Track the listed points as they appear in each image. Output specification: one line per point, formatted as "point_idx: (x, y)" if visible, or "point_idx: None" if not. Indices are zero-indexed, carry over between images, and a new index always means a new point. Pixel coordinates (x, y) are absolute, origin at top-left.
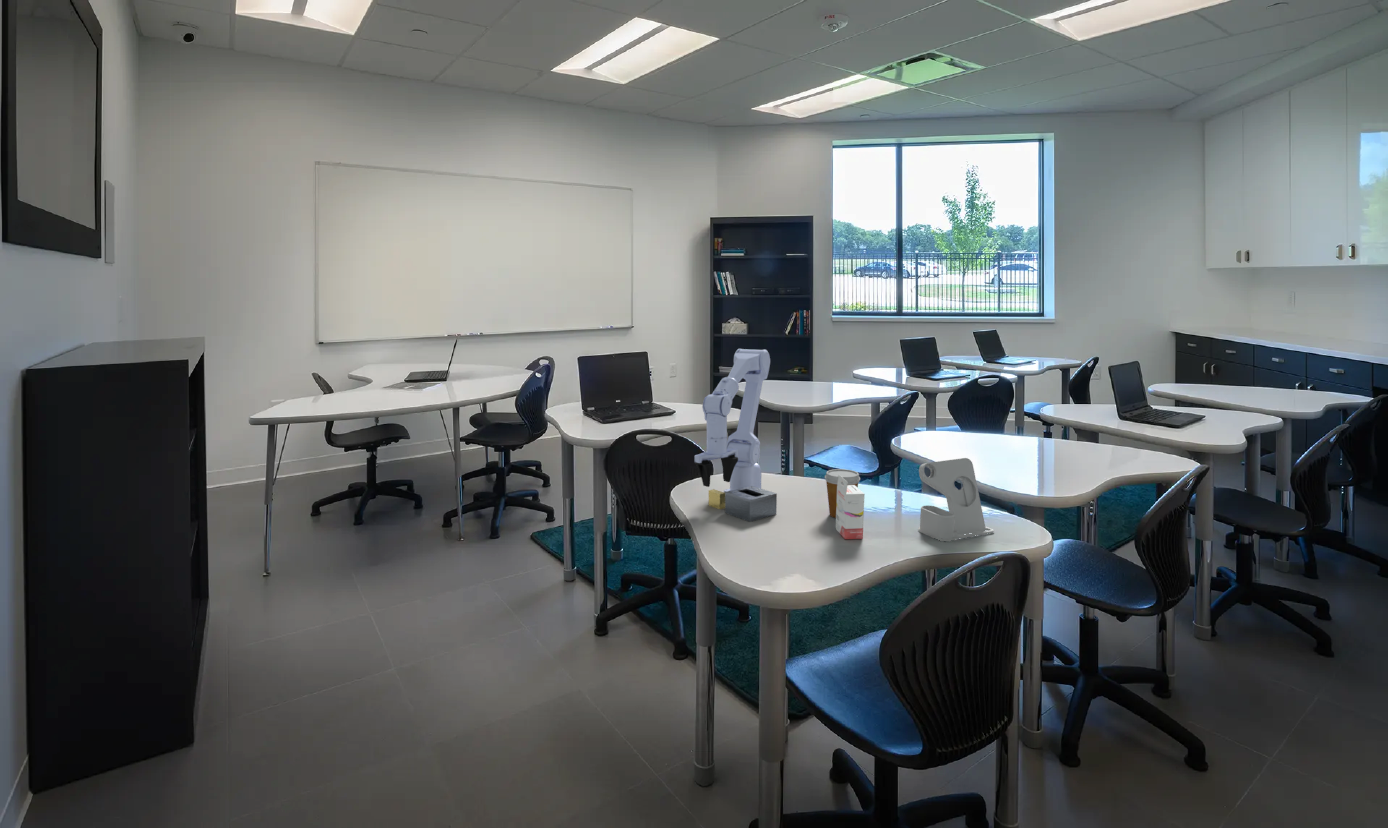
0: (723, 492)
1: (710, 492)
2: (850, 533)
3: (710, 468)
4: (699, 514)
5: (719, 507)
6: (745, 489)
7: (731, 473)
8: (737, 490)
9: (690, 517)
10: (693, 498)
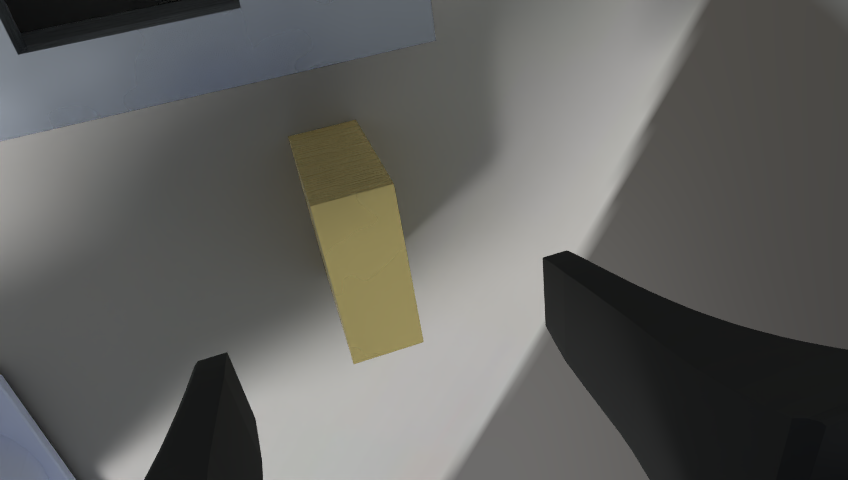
0: (320, 229)
1: (414, 309)
2: None
3: (753, 378)
4: (582, 67)
5: (360, 131)
6: (42, 47)
7: (175, 445)
8: (222, 30)
9: (682, 28)
10: (399, 429)
